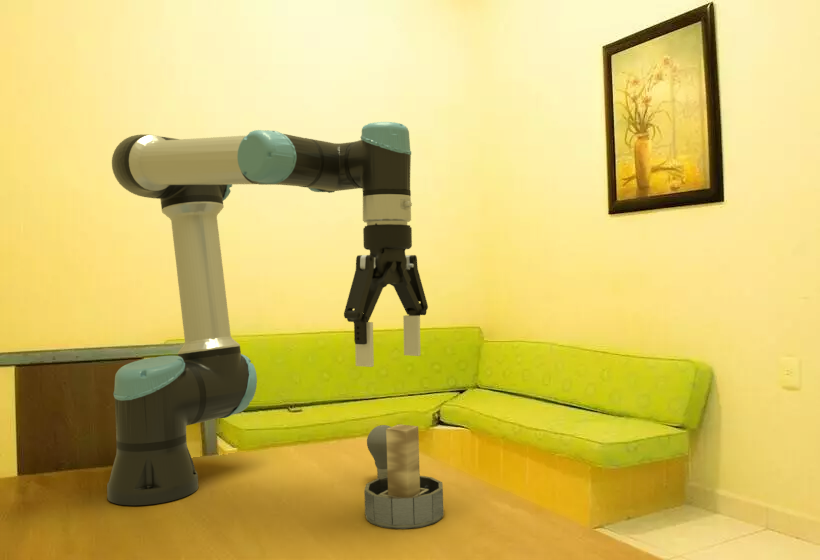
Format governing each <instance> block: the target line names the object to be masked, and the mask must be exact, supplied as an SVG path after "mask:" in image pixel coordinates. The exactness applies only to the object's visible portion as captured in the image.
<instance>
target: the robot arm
mask: <svg viewBox="0 0 820 560" xmlns="http://www.w3.org/2000/svg"><path fill="white" fill-rule="evenodd" d="M409 130H410V129H408V127H407V126H406V125H405V124H403V123H398V122H395V121H394V122H393V121H375V122H369V123H367V124H365V125H363V126H362V128H361V136H360V140H359V139H358V140H357V141H356V140H355V141H350V142H342V143H341V142H340V143H336V142H329V141H326V140H325V141H324V140H318V139H314V138H307V137H301V136H297V135H291V134H286V133H282V132H279V131H277V130H262V129H257V130H256V129H255V130H252V131H250V132H249V133H248V134H246V135H236V136H235V135H234V136H233V135H231V136H218V137H217V136H216V137H215V136H214V137H199V138H183V139H182V138H181V139H180V138H173V137H168V136H161V135H160V136H159V135H154V134H136V135H131V136H129V137H126V138H125V139H123V140H121V141H120V143H119V144H118V145H117V146H116V147H115V149H114V151H113V153H112V156H111V168H112V173H113V174H114V177H115V179H116V180H117V182H118V184H119V185H120V186H121V187H122V188H124V189H125V190H126V191H128V192H129V193H131V194H133V195H135V196H138V197H144V198H148V199H149V198H150V199H158V200H160V205H161V212H162V214H163V215H165V216H166V217H167V218H168V219H169V220H170V221H171V230H172V238H173V239H172V240H173V248H174V256H175V266H176V273H177V274H176V276H177V283H178V285H177V286H178V292H179V301H180V302H179V303H180V310H181V317H182V318H181V320H182V328H183V337H184V343H183V344H182V345H183V346H182V347H181V348H180V349H179V350H178V352H177V355H160V356H156V357H147V358H144V359H139V360H135V361H132V362H129V363H126V364H125V365H123V366H121V367H120V368H119V369H118V370H117V371H116V373H115V376H114V388H113V389H114V391H113V397H114V409H115V410H114V411H115V413H114V414H115V434H116V435H115V438H116V440H115V441H116V453H115V454H116V455H115V458H114V460H113V465H112V469H111V471H110V472H111V473H110V476H109V481H108V482H107V487H106V492H107V493H106V495H107V497H106V498H107V500H108V502H110V503H113V504H116V505H121V506H122V505H123V506H147V505H148V506H149V505H155V504H156V505H157V504H163V503H168V502H172V501H176V500H179V499H182V498H185V497H187V496H190V495H192V494H193V493H195V492H196V491H198V489H199V475H198V472H197V470H196V468H195V464H194V461H193V458H192V456H191V453H190V450H189V448H188V445H187V443H188V442H187V426H190V425H195V424H199V423H204V422H208V421H212V420H217V419H225V418H229V417H230V416H233V415H236V414H239V413H241V412H243V411H244V410H246V409H247V408H248V407H249V406H250V404H251V402H252V400H254V397H255V394H256V392H257V391H256V390H257V383H258V377H257V371H256V368H255V365H254V363H251V361H252V360H251V359H250V358H249V357H248V356H246V355H244V354H243V353H241V344H240V343H239V342H237V341H236V340H234V339H233V337H232V334H231V326H230V320H229V309H228V302H227V294H226V282H225V277H224V276H225V274H224V268H223V267H224V266H223V260H222V259H223V258H222V257H223V256H222V250H221V240H220V231H219V223H218V214H220V212H222V210H224V209H223V208H224V201H225V200H226V199H227V198H228V197H229V195H230V194H231V191H232V190H231V189H230V188H232V187H233V185H262V186H263V185H268V186H269V185H270V186H271V185H275V186H276V185H277V186H279V185H280V186H293V187H301V188H307V189H309V190H310V191H312V192H315V193H329V194H330V193H335V192H339V191H349V190H355V189H356V190H357V189H362V221H363V223H366V225H364V227H363V230H362V234H363V248H364V249H365V251H367V250H368V251H369V254H359V255H357V256H356V259H355V271H354V275H353V279H352V282H351V285H350V290H349V294H348V296H347V300H346V304H345V309H344V311H343V317H344V319H346V321H347V322H350V323H353V329H354V330H353V335H354V337H353V339H354V340H353V341H354V344H355V346H354V347H355V366H356V367H366V368H368V367H369V368H372V367H374V366H375V365H374V356H375V355H374V322H372V321H371V322H370V319H371V317H372V314H373V313H374V310H375V307H376V306H377V303H378V301H379V298H380V296H381V293H382V292H383V290H384V288H386V287H387V286H388V285H390V286H392V287H393V289H394V290H395V292H396V294H397V296H398V299H399V301H400V303H401V304H402V307H403V310H405V313H406V315H403V355H404V356H411V357H412V356H414V357H419V356H421V316H425V315H426V314H427V310H428V308H429V306H428V302H427V297H426V294H425V291H424V287H423V286H424V285H423V284H422V280H421V276H420V273H419V267H418V257H417V255H415V254H406V250H410V249H411V248H412V246H413V244H412V243H413V241H412V239H413V238H412V237H413V234H412V231H413V230H412V227H411V225H410V224H408V223H409V222H411V221H412V205H413V203H412V201H411V200H412V199H411V197H412V196H411V195H412V192H411V166H412V165H411V164H412V163H411V159H412V157H411V156H412V151H411V142H410V139H411V138H410V131H409Z"/></svg>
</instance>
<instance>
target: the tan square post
mask: <svg viewBox="0 0 820 560" xmlns="http://www.w3.org/2000/svg"><path fill="white" fill-rule="evenodd" d="M386 439H387V472H388V495H391V496H397V497H413V496H415V495H417V494H418V493H420V476H421V475H420V471H421V470H420V447H419V445H420V441H419V440H420V439H419V426H418V425H409V424H408V425H407V424H396V425H394V426H390V428H388V429H386Z"/></svg>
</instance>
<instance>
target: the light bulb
mask: <svg viewBox="0 0 820 560" xmlns="http://www.w3.org/2000/svg"><path fill="white" fill-rule="evenodd" d="M390 427H391V426H390V425H386V424H381V425H377V426H375V427H374V428H373V429H371V430H370V432H369V433H368V435H367V439H366V446H367V450H368V451H369V453H370V455H371V456H372V458H373V460H374V465H375V467H376V474H377V476H376V477H377V478H376V479H378V478H383V477H388V472H387V439H386V429H388V428H390Z"/></svg>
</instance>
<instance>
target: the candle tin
mask: <svg viewBox="0 0 820 560" xmlns="http://www.w3.org/2000/svg"><path fill="white" fill-rule="evenodd" d="M443 487H444V486H443V481H441V480H438V479H436V478H434V477H431V476H425V475H420V493H418V494H417V495H415V496H413V497H397V496H391V495H388V477H383V478H376V479H374V480H371V481H370V482H367V483H366V484H365V486H364V492H363V493H364V516H365V518H366V521H368V522H369V523H370V524H372V525H374V526H377V527H380V528H384V529H392V530H409V529H410V530H411V529H419V528H423V527H428V526H431V525H435V524H436V523H437V522H440V521H441V520H442V519H443V517H444V488H443Z"/></svg>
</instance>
